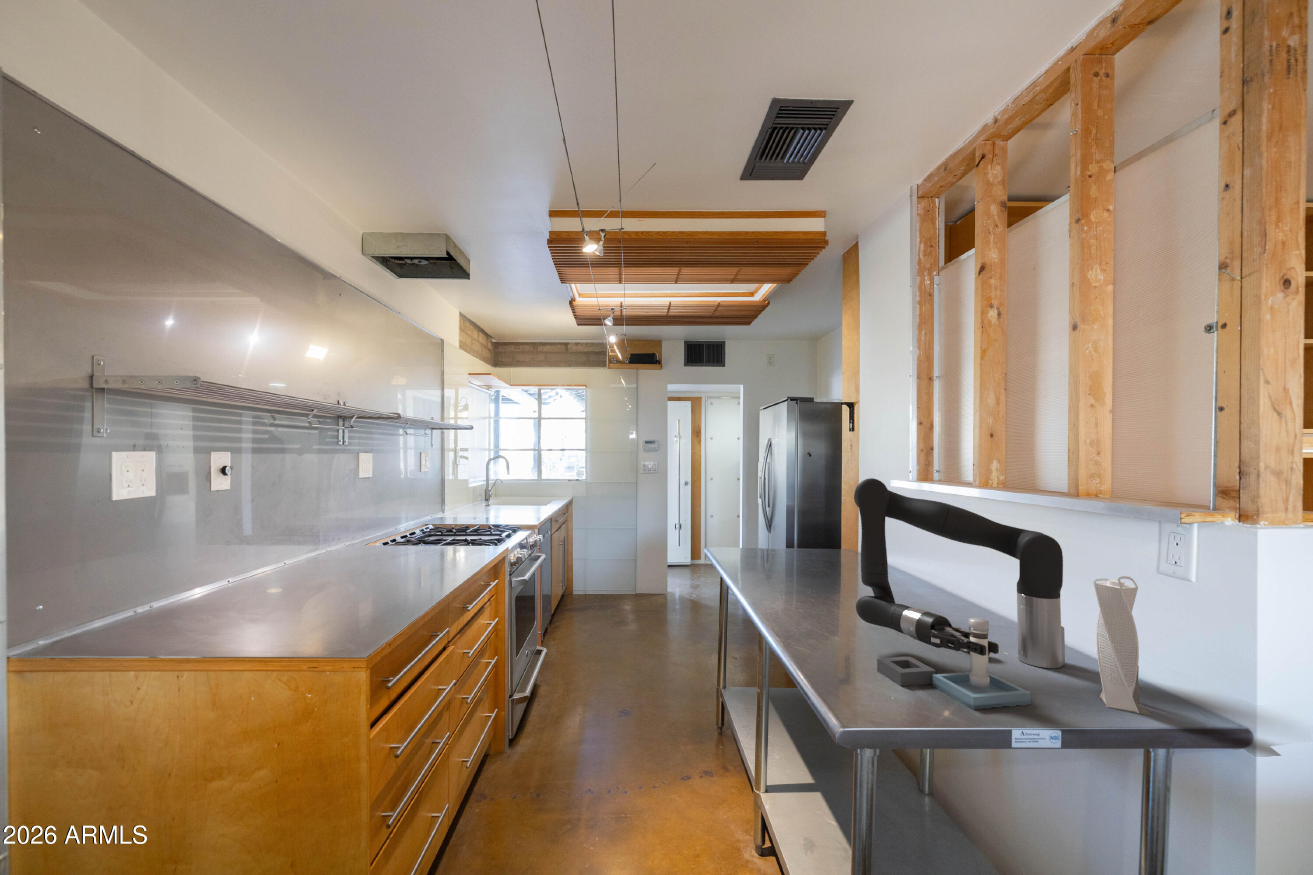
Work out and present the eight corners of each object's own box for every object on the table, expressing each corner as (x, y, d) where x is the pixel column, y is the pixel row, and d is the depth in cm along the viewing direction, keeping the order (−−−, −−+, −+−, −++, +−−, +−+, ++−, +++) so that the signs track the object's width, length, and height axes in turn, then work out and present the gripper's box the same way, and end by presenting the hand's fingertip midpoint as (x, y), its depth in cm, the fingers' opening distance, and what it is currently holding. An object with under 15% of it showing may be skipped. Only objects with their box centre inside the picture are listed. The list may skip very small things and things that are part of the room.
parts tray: (985, 681, 125) (985, 670, 125) (1030, 704, 113) (1030, 692, 113) (932, 685, 122) (932, 674, 122) (973, 709, 110) (973, 697, 111)
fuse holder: (909, 668, 132) (909, 656, 132) (935, 683, 123) (935, 670, 124) (877, 670, 131) (877, 658, 131) (900, 685, 122) (900, 672, 122)
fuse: (980, 680, 120) (979, 617, 121) (993, 687, 116) (992, 622, 117) (965, 681, 119) (964, 617, 120) (978, 688, 116) (977, 622, 116)
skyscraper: (1153, 719, 108) (1149, 579, 109) (1102, 710, 111) (1098, 575, 113) (1138, 703, 115) (1134, 572, 117) (1091, 695, 119) (1088, 568, 120)
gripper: (903, 613, 129) (967, 635, 113) (946, 608, 134) (1013, 629, 118) (903, 645, 129) (968, 671, 113) (946, 639, 134) (1014, 663, 118)
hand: (991, 649), depth 115 cm, fingers closed on fuse, 3 cm apart
